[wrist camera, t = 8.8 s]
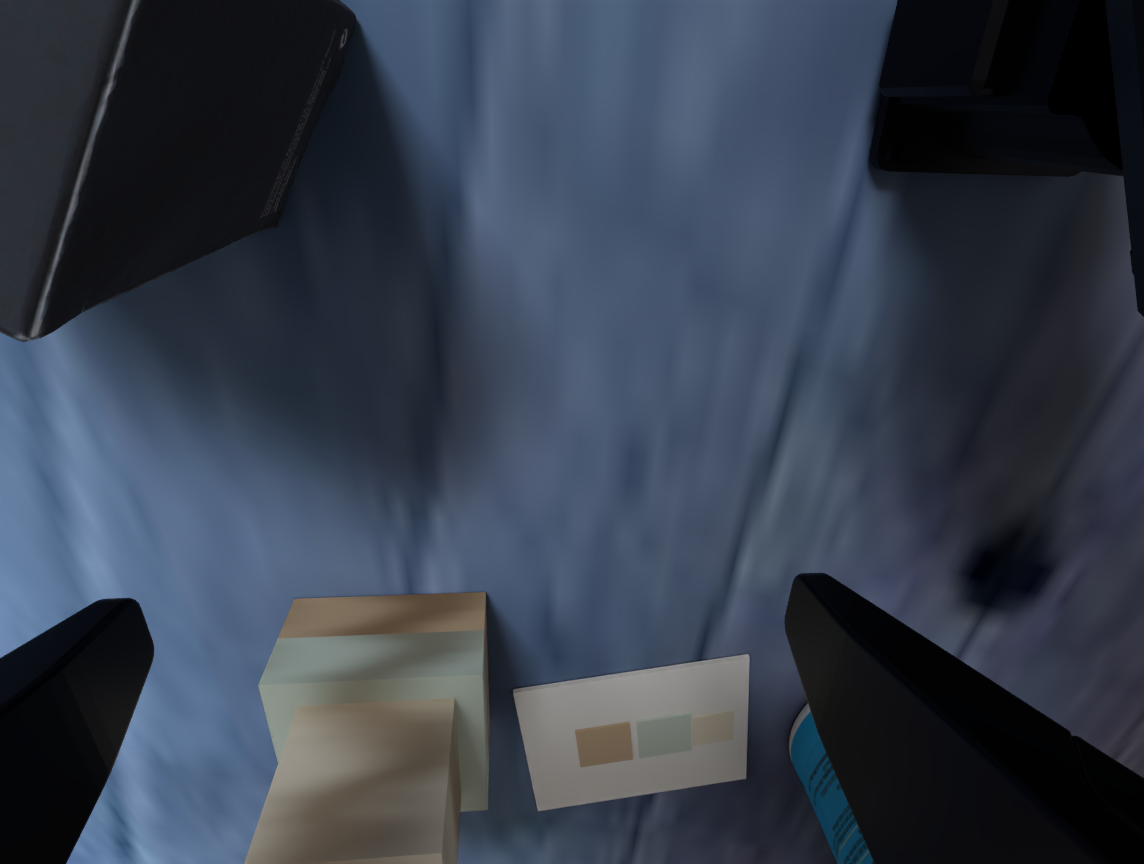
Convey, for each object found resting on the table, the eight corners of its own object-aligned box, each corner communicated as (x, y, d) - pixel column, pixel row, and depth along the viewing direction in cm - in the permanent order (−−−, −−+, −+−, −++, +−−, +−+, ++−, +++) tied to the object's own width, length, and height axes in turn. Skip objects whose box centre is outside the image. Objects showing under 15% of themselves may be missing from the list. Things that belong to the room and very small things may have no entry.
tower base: (485, 591, 25) (482, 674, 21) (489, 719, 28) (487, 810, 24) (294, 598, 24) (258, 685, 20) (321, 729, 27) (293, 823, 24)
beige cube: (454, 697, 22) (441, 852, 17) (461, 794, 24) (451, 953, 19) (297, 706, 21) (242, 867, 17) (320, 804, 23) (276, 970, 19)
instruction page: (748, 653, 28) (750, 659, 27) (744, 774, 31) (746, 780, 31) (512, 689, 27) (512, 695, 27) (537, 807, 31) (537, 813, 31)
